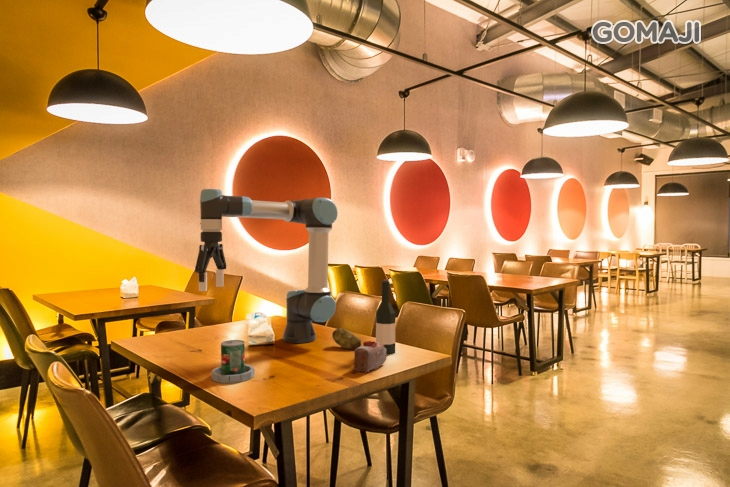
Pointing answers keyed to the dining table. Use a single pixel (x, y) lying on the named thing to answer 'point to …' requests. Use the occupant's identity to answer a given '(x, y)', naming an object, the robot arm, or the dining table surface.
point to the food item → (369, 356)
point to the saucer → (233, 378)
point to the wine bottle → (386, 320)
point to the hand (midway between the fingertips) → (211, 288)
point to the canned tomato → (232, 357)
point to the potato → (346, 339)
